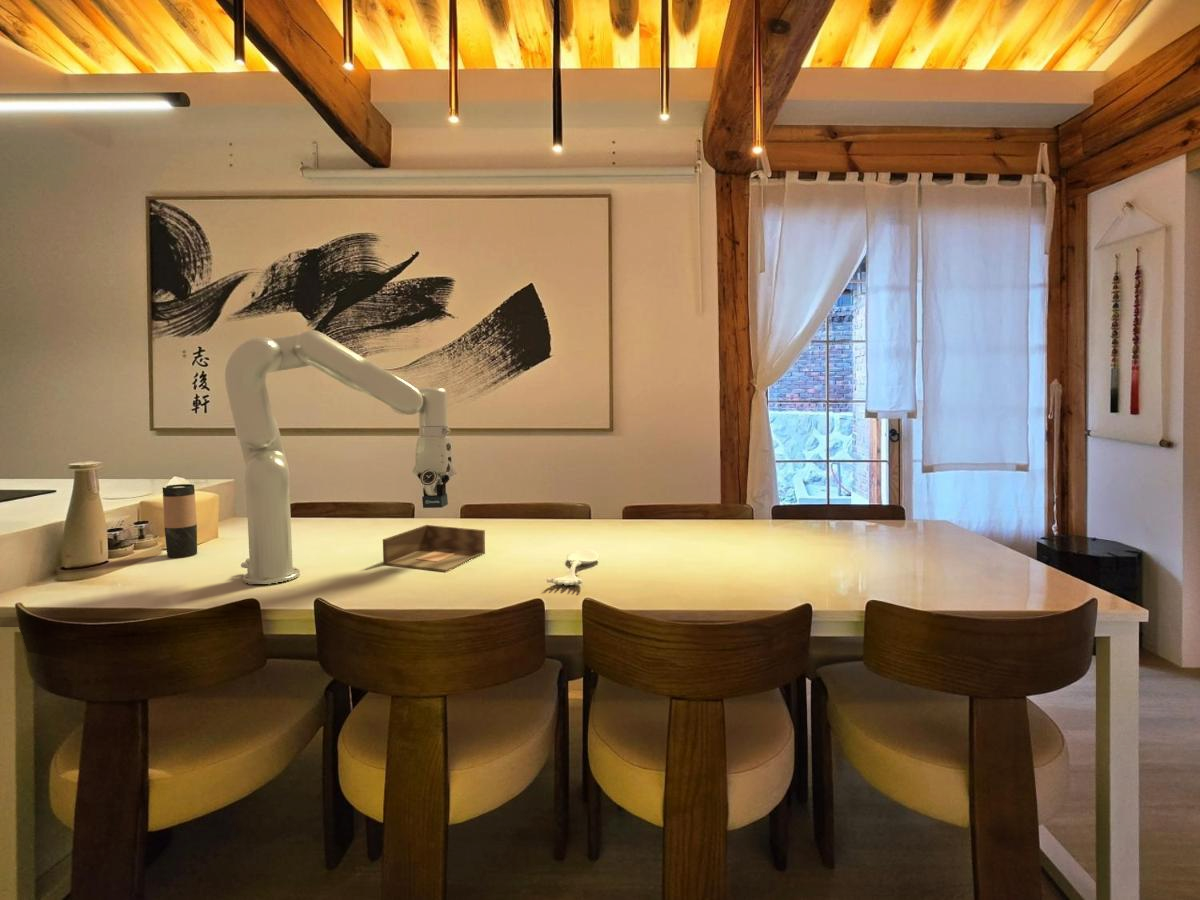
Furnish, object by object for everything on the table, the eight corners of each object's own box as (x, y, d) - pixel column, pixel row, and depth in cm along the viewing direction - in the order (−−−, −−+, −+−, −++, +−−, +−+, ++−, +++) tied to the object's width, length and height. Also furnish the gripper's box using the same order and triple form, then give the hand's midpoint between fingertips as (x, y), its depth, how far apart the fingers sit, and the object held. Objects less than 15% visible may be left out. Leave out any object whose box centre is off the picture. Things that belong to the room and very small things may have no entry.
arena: (383, 564, 169) (382, 539, 168) (426, 547, 188) (426, 524, 187) (446, 571, 163) (446, 545, 162) (484, 553, 181) (484, 530, 181)
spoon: (545, 592, 148) (545, 577, 147) (571, 557, 179) (571, 545, 179) (582, 594, 146) (582, 579, 146) (601, 558, 178) (601, 546, 178)
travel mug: (203, 554, 179) (199, 485, 177) (173, 560, 172) (169, 488, 170) (190, 550, 183) (186, 483, 181) (161, 556, 176) (157, 486, 174)
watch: (419, 509, 170) (416, 470, 169) (432, 503, 178) (428, 465, 177) (439, 509, 170) (436, 469, 168) (450, 502, 177) (447, 465, 176)
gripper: (466, 432, 173) (467, 497, 174) (416, 430, 178) (417, 493, 180) (451, 434, 166) (452, 501, 167) (399, 432, 171) (401, 498, 173)
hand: (434, 497), depth 174 cm, fingers closed on watch, 3 cm apart
